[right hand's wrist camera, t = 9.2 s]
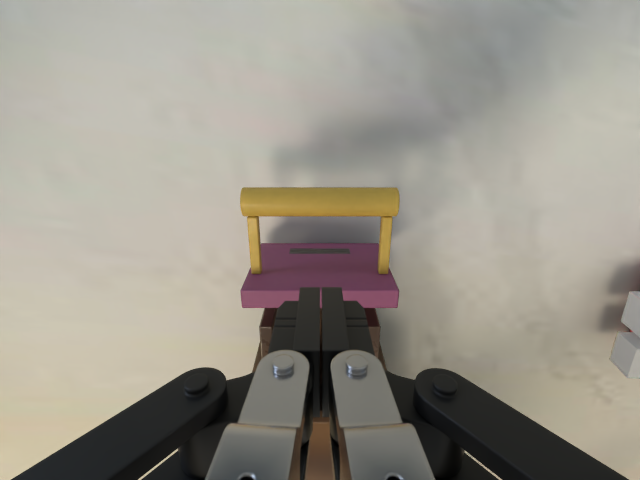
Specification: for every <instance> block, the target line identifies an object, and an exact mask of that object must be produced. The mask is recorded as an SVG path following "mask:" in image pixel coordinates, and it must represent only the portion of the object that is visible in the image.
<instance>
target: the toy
mask: <svg viewBox="0 0 640 480" xmlns="http://www.w3.org/2000/svg"><path fill="white" fill-rule="evenodd" d="M621 322H622V323H623V324H624V325H626V326H627V327H628V328H629V329H630V332H617V335H616V338H615V342H614V345H613V348H612V352H611V355H610V358H609V359H610V360H611V361H612V362H613V363H614V364H615V366H616V367H617V368H618V369H619V370H620V371H621V372H622V373H623V374H624V375H625V376H626V377H627V378H639V379H640V291H630V292H629V295H628V299H627V302H626V305H625V308H624V312H623V315H622V318H621Z"/></svg>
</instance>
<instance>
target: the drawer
mask: <svg viewBox="0 0 640 480" xmlns="http://www.w3.org/2000/svg"><path fill="white" fill-rule="evenodd" d="M240 205H241V212H242V215H243V216H248V217H247V222H248V235H249V247H250V260H251V268H250V270H249V273H248V275H247V277H246V279H245V282H244V284H243V286H242V289H241V301H242V308H265V309H264V312H263V316H262V320H261V323H260V327H259V329H260V342H261V356H262V358H263V357H265V356H266V355H268V350H269V345H270V341H271V336H272V332H273V328H274V322H275V318H276V313H277V309H278V308H279V307H280V306H281V305H282V304H283V302H284V301H298V300H299V291H300V287H320V411H322V287H342V293H343V301H357V302H358V303H359V304H360V305H361V306H362V307H363V308H364V309H365V314H366V320H367V322H368V327H369V331H370V336H371V340H372V345H373V349H374V353H375V357H377V358H378V352H379V339H380V324H379V320H378V317H377V313H376V310H375V308H397V307H398V298H399V289H398V287H397V285H396V283H395V280H394V278H393V276H392V273H391V271H390V269H389V256H390V244H391V231H392V216H397V214H398V211H399V191H398V189H397V188H242V190H241V196H240ZM259 216H381V225H380V240H379V244H378V243H261V245H260V229H259Z"/></svg>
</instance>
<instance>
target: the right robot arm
mask: <svg viewBox="0 0 640 480" xmlns="http://www.w3.org/2000/svg"><path fill="white" fill-rule="evenodd" d="M313 417H320V287H300V291H299V300H298V301H284V302H283V304H282V305H281V306H280V307H279V308H278V309H277V313H276V318H275V322H274V328H273V332H272V336H271V341H270V345H269V350H268V355H266V356H265V357H263V358H262V359H261V360H260V362H259V364H258V366H257V369H256V371H254V372H253V373H251V374H248V375H246V376H243V377H239V378H235V379H231V380H227V381H226V378H225V376H224V374H223V373H222V372H221V371H219V370H217V369H214V368H206V367H205V368H197V369H193V370H190V371H188V372H185V373H184V374H182V375H180V376H179V377H177V378H175V379H174V380H172V381H170V382H169V383H167V384H166V385H164V386H162V387H161V388H159V389H157V390H156V391H154V392H153V393H151V394H149V395H148V396H146V397H144V398H143V399H141V400H140V401H138V402H136V403H135V404H133V405H131V406H130V407H128V408H127V409H125V410H123V411H122V412H120V413H119V414H117V415H115V416H114V417H112V418H110V419H109V420H107V421H106V422H104V423H102V424H101V425H99V426H97V427H96V428H94V429H93V430H91V431H89V432H88V433H86V434H84V435H83V436H81V437H80V438H78V439H76V440H75V441H73V442H71V443H70V444H68V445H67V446H65V447H63V448H62V449H60V450H58V451H57V452H55V453H54V454H52V455H50V456H49V457H47V458H46V459H44V460H42V461H41V462H39V463H37V464H36V465H34V466H33V467H31V468H29V469H28V470H26V471H24V472H23V473H21V474H20V475H18V476H16V477H15V478H13V479H11V480H138V479H139V478H140V477H141V476H143V475H144V474H145V473H147V472H148V471H149V470H150V469H152V468H153V467H154V466H156V465H157V464H158V463H159V462H161V461H162V460H163V459H164V458H166V457H167V456H168V455H170V454H171V453H172V452H173V451H175V450H176V449H177V448H178V451H177V452H176V453H175V454H173V455H172V456H171V457H169V458H168V459H167V460H166V461H164V462H163V463H162V464H161V465H159V466H158V467H157V468H156V469H154V470H153V471H152V472H150V473H149V474H148V475H147V476H145V477H144V478H143V479H142V480H306V479H307V470H308V461H309V453H310V437H311V434H312V430H313ZM322 417H329V422H330V453H331V462H332V470H333V479H334V480H498V479H497V478H496V477H495V476H493V475H492V474H491V473H490V472H488V471H487V470H486V469H484V468H483V467H482V466H481V465H479V464H478V463H477V462H476V461H474V460H473V459H472V458H471V457H469V456H468V455H467V454H465V453H464V450H465V451H467V452H468V453H469V454H470V455H472V456H473V457H474V458H476V459H477V460H478V461H479V462H481V463H482V464H483V465H484V466H486V467H487V468H488V469H490V470H491V471H492V472H493V473H495V474H496V475H497V476H499V477H500V478H501V479H502V480H629V479H627V478H625V477H624V476H622V475H620V474H619V473H617V472H616V471H614V470H612V469H611V468H609V467H607V466H606V465H604V464H603V463H601V462H599V461H598V460H596V459H595V458H593V457H591V456H590V455H588V454H586V453H585V452H583V451H582V450H580V449H578V448H577V447H575V446H573V445H572V444H570V443H569V442H567V441H565V440H564V439H562V438H560V437H559V436H557V435H556V434H554V433H552V432H551V431H549V430H547V429H546V428H544V427H543V426H541V425H539V424H538V423H536V422H534V421H533V420H531V419H530V418H528V417H526V416H525V415H523V414H522V413H520V412H518V411H517V410H515V409H513V408H512V407H510V406H509V405H507V404H505V403H504V402H502V401H500V400H499V399H497V398H496V397H494V396H492V395H491V394H489V393H487V392H486V391H484V390H483V389H481V388H479V387H478V386H476V385H474V384H473V383H471V382H470V381H468V380H466V379H465V378H463V377H461V376H460V375H458V374H456V373H454V372H452V371H449V370H445V369H439V368H431V369H427V370H424V371H422V372H420V373H419V374H418V375H417V377H416V379H415V380H412V379H408V378H404V377H400V376H397V375H394V374H392V373H390V372H388V371H387V370H385V369H384V368H383V366H382V364H381V362H380V360H379V359H378V358H377V357H375V353H374V349H373V345H372V340H371V336H370V331H369V327H368V322H367V320H366V314H365V309H364V308H363V307H362V306H361V305H360V304H359V303H358V302H357V301H343V293H342V287H322Z"/></svg>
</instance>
